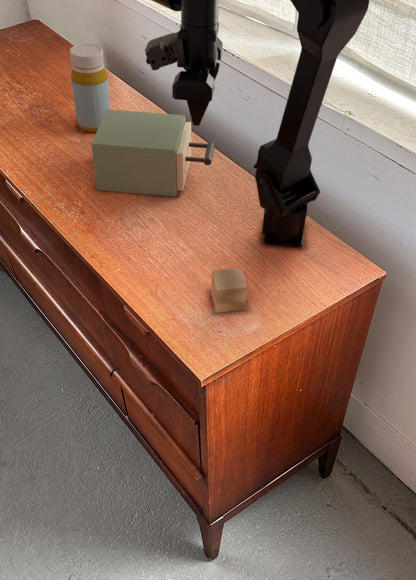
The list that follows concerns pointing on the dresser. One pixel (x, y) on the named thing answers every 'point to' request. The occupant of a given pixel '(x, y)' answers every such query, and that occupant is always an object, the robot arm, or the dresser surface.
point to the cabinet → (137, 152)
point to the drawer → (189, 155)
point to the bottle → (89, 86)
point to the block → (228, 290)
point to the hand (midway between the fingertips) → (198, 117)
